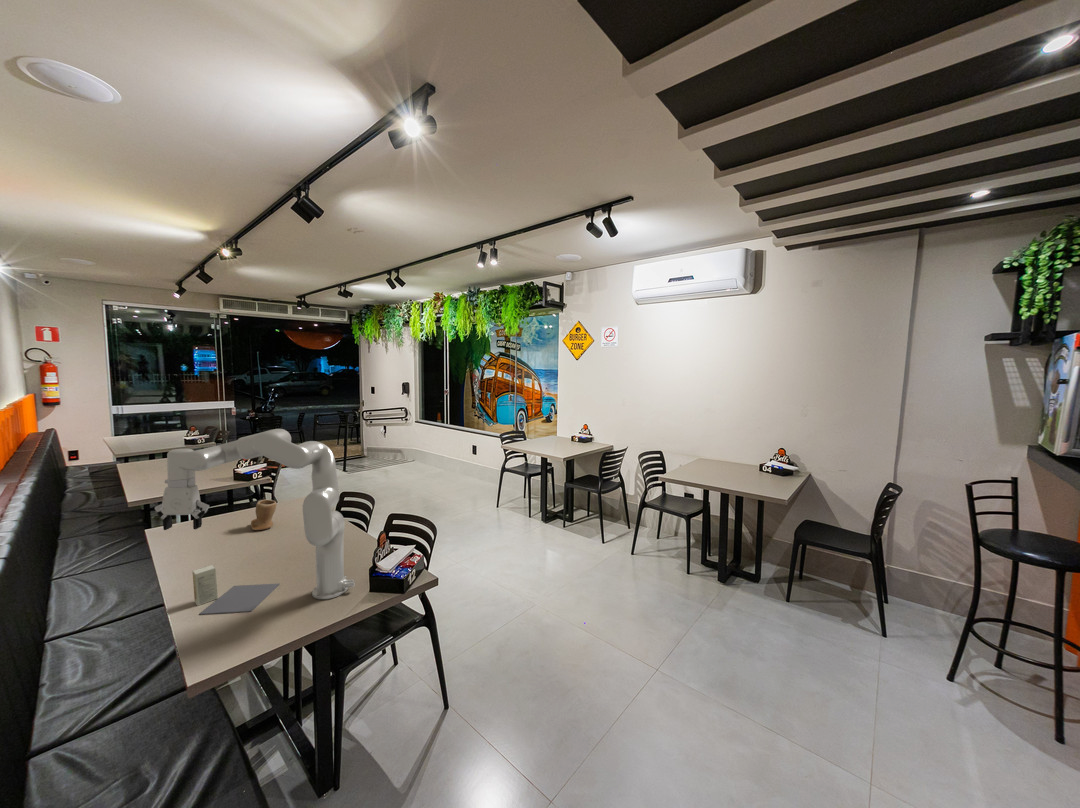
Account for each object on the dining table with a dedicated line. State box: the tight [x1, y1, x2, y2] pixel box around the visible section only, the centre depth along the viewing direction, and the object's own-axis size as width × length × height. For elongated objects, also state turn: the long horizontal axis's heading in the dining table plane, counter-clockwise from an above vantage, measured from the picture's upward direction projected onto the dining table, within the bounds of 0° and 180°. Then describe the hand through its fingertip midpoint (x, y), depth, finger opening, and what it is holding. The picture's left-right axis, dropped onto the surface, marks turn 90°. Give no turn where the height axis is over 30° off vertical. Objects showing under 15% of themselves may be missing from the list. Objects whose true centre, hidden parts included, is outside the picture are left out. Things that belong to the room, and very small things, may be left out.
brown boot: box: [250, 499, 277, 531], centre depth 221 cm, size 15×12×15 cm
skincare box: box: [191, 564, 219, 607], centre depth 148 cm, size 6×4×12 cm
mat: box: [198, 583, 280, 616], centre depth 149 cm, size 17×19×1 cm
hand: (182, 528), depth 146 cm, fingers open, 9 cm apart
